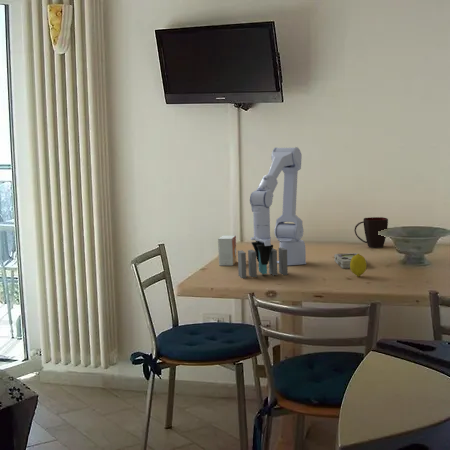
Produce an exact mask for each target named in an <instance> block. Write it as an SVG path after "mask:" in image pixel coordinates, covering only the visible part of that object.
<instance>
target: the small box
mask: <svg viewBox="0 0 450 450" xmlns="http://www.w3.org/2000/svg"><path fill="white" fill-rule="evenodd" d="M217 244H218V265H219V266H234V265H235V264H236V263H238V260H237V236H236V235H221V236H220V237H219V238H217Z"/></svg>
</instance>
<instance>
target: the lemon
mask: <svg viewBox="0 0 450 450" xmlns="http://www.w3.org/2000/svg"><path fill="white" fill-rule="evenodd" d="M365 259H366V258H365V257H364V256H363V255H362V254H360V253H358V254H357V255H355V256H353V257H352V259H351V262H350V268H349V269H350V271H351V273H352V274H353V275H355V276H356V277H361V275H364V273H365V272H366V270H367V265H368V264H367V265H366V261H367V259H366V260H365Z"/></svg>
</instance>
